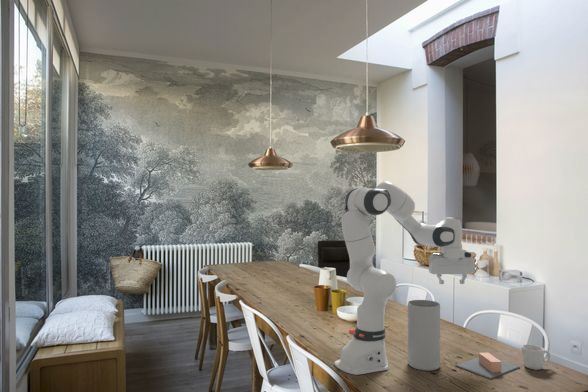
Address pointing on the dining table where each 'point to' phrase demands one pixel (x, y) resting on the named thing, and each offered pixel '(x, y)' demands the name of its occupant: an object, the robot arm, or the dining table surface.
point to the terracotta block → (490, 362)
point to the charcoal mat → (478, 369)
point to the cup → (534, 356)
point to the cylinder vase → (424, 334)
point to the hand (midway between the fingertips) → (451, 283)
